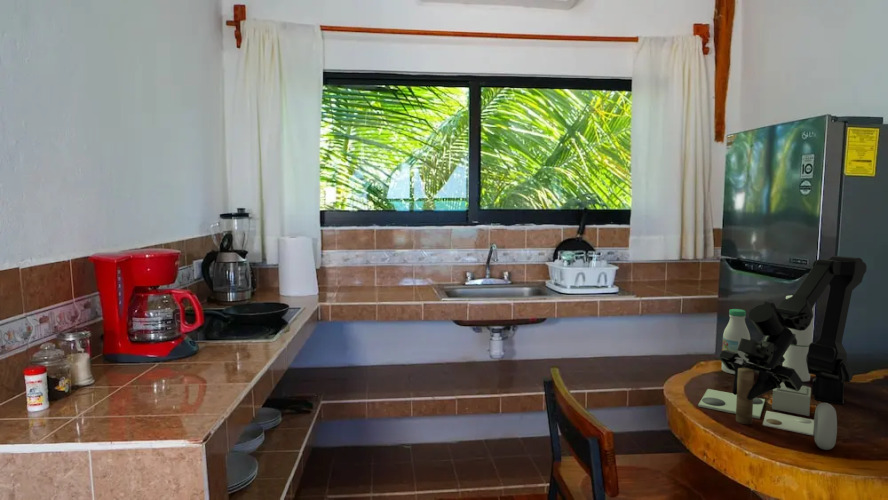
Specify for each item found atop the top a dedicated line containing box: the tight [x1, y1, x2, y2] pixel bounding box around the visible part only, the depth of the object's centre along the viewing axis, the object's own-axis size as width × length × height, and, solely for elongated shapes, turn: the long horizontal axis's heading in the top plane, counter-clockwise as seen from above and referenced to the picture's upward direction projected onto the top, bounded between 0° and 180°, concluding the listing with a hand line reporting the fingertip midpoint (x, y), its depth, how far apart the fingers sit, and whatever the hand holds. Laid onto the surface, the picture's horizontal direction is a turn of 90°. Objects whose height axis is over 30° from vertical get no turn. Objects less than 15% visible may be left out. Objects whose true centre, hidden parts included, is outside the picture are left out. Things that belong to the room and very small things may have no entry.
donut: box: [813, 402, 838, 451], centre depth 114 cm, size 10×3×10 cm, turn 149°
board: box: [697, 388, 766, 420], centre depth 140 cm, size 14×14×1 cm
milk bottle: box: [721, 308, 751, 375], centre depth 165 cm, size 8×8×20 cm
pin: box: [735, 368, 755, 425], centre depth 128 cm, size 4×4×13 cm
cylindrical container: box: [782, 294, 815, 382], centre depth 159 cm, size 7×7×25 cm
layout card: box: [762, 410, 814, 437], centre depth 127 cm, size 10×10×1 cm
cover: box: [771, 381, 812, 417], centre depth 137 cm, size 8×8×5 cm
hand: (741, 396), depth 127 cm, fingers closed on pin, 3 cm apart
